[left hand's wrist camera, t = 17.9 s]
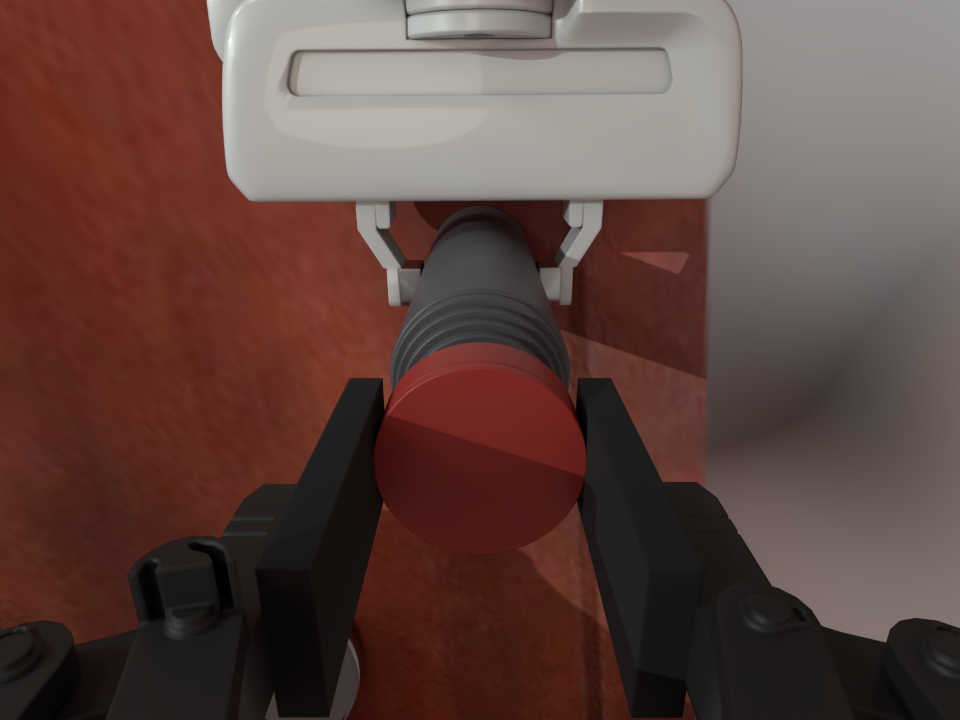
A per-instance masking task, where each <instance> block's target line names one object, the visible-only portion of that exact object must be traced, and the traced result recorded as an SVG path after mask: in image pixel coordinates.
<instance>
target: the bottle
mask: <svg viewBox="0 0 960 720" xmlns="http://www.w3.org/2000/svg"><path fill="white" fill-rule="evenodd" d="M472 342H489V343H497V344H502V345H506V346H510V347H514V348H516V349H519V350H522V351H524V352H526V353H528V354H530V355H532V356H534V357H535V358H537V359H538V360H540V361H541V362H543V363H544V364H545V365H547V366H548V367H549V368H550V369H551V370H552V371H553V372H554V373H555V374H556V375H557V376H558V378H559V379H560V380H561V382H562V383H563V384H564V386H565V388H566V389H567V391H568V388H569V381H570V364H569V357H568V352H567V348H566V345H565V343H564V340H563V337H562V335H561V332H560V329H559V327H558V324H557V321H556V319H555V316H554V313H553V311H552V308H551V305H550V303H549V300H548V297H547V295H546V292H545V289H544V287H543V284H542V281H541V279H540V276H539V273H538V271H537V268H536V265H535V263H534V260H533V257H532V255H531V252H530V249H529V246H528V244H527V241H526V238H525V236H524V233H523V231H522V230H521V228H520V226H519V225H518V224H517V222H516V221H515V220H514V219H513V218H512V217H511V216H509V215H508V214H507V213H505V212H503V211H501V210H499V209H497V208H494V207H490V206H470V207H467V208H463V209H461V210H459V211H457V212H455V213H454V214H452V215H451V216H450V217H448V218H447V219H446V220H445V221H444V222H443V224H442V225H441V227H440V228H439V230H438V232H437V234H436V236H435V239H434V242H433V244H432V247H431V250H430V252H429V255H428V258H427V260H426V263H425V266H424V269H423V271H422V274H421V277H420V279H419V282H418V285H417V287H416V290H415V293H414V295H413V298H412V301H411V303H410V306H409V309H408V311H407V314H406V317H405V320H404V322H403V325H402V328H401V330H400V333H399V336H398V338H397V341H396V344H395V346H394V349H393V353H392V358H391V367H390V376H391V385H392V392H393V390H394V388H395V387H396V385H397V383H398V382H399V381H400V379H401V378H402V377H403V376H404V374H405V373H406V372H407V371H409V370H410V369H411V368H412V367H413V366H414V365H415V364H417V363H418V362H419V361H421V360H422V359H423V358H425V357H427V356H429V355H430V354H432V353H434V352H436V351H439V350H441V349H444V348H446V347H450V346H454V345H458V344H464V343H472Z"/></svg>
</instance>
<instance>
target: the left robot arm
mask: <svg viewBox="0 0 960 720" xmlns="http://www.w3.org/2000/svg"><path fill="white" fill-rule="evenodd" d="M576 414H577V417H578V420H579V423H580V426H581V430H582V432H583V436H584V440H585V444H586V468H585V481H584V485H583V488H582V490H581V493H580V496H579V497H578V499H577V503H578V507H579V511H580V515H581V519H582V523H583V527H584V531H585V535H586V539H587V543H588V547H589V551H590V555H591V559H592V563H593V567H594V571H595V575H596V579H597V583H598V587H599V591H600V595H601V599H602V603H603V607H604V611H605V615H606V619H607V623H608V627H609V631H610V635H611V639H612V643H613V647H614V651H615V655H616V659H617V663H618V667H619V671H620V675H621V679H622V683H623V687H624V691H625V695H626V699H627V703H628V707H629V711H630V714H631V718H682V715H683V708H684V702H685V696H686V690H687V692H688V695H689V698H690V701H691V703H692V706H693V709H694V712H695V715H696V717H697V719H696V720H960V628H957V627H954V626H951V625H948V624H946V623H943V622H940V621H936V620H928V619H920V618H913V619H908V620H902V621H899V622H898V623H897V624H896V625H894V626H893V627H892V628H891V629H890V632H889V635H888V638H887V642H886V643H885V642H881V641H877V640H873V639H868V638H864V637H860V636H855V635H851V634H847V633H843V632H839V631H836V630H833V629H829V628H826V627H823V626H821V624H820V623H819V621H818V619H817V618H816V616H815V615H814V613H813V611H812V610H811V609H810V608H809V607H807V606H806V605H805V604H804V603H803V602H802V601H800V600H799V599H798V598H797V597H795V596H793V595H791V594H789V593H787V592H785V591H783V590H781V589H779V588H776V587H773V586H772V585H771V584H770V582H769V581H768V579H767V577H766V576H765V574H764V573H763V571H762V569H761V568H760V566H759V565H758V563H757V561H756V560H755V558H754V556H753V555H752V553H751V552H750V550H749V548H748V547H747V545H746V544H745V542H744V540H743V539H742V537H741V535H739V534H738V533H737V529H736V527H735V526H734V524H733V523H732V521H731V520H730V519H728V515H727V513H726V511H725V510H724V508H723V507H722V505H721V503H720V502H719V500H718V498H717V497H716V496H714V495H713V494H712V493H710V492H709V491H708V490H706V489H705V488H704V487H702V486H701V485H700V484H698V483H697V482H662V480H661V478H660V476H659V474H658V472H657V470H656V468H655V466H654V464H653V462H652V460H651V458H650V456H649V454H648V452H647V450H646V448H645V446H644V444H643V442H642V440H641V438H640V436H639V434H638V432H637V430H636V428H635V426H634V424H633V422H632V420H631V418H630V416H629V414H628V412H627V410H626V408H625V406H624V404H623V402H622V400H621V398H620V396H619V394H618V392H617V390H616V388H615V386H614V384H613V382H612V380H611V378H578V386H577V402H576ZM383 415H384V395H383V379H382V378H350V379H349V381H348V383H347V385H346V387H345V389H344V391H343V393H342V395H341V397H340V399H339V401H338V403H337V405H336V407H335V409H334V411H333V413H332V415H331V417H330V419H329V421H328V423H327V425H326V427H325V429H324V431H323V433H322V435H321V437H320V439H319V441H318V443H317V445H316V447H315V449H314V451H313V453H312V455H311V457H310V459H309V461H308V463H307V465H306V467H305V469H304V471H303V473H302V475H301V477H300V479H299V481H298V483H297V484H264V485H262V486H261V487H260V488H258V489H257V490H256V491H254V492H253V493H252V494H250V495H249V496H248V497H246V498H245V499H244V500H243V502H242V503H241V505H240V506H239V508H238V510H237V511H236V513H235V515H234V516H233V520H232V521H230V523H229V524H228V526H227V528H226V529H225V531H224V532H223V537H220V538H217V537H213V536H191V537H186V538H182V539H178V540H174V541H171V542H168V543H166V544H164V545H162V546H159V547H157V548H155V549H153V550H151V551H150V552H149V553H147V554H146V555H145V556H143V557H142V558H141V559H139V560H138V561H137V562H136V563H135V564H134V566H133V567H132V569H131V570H130V571H129V573H128V574H127V576H128V580H129V584H130V588H131V592H132V596H133V600H134V604H135V608H136V612H137V616H138V620H139V624H140V625H139V628H138V629H136V630H133V631H130V632H126V633H123V634H120V635H116V636H111V637H107V638H103V639H98V640H94V641H90V642H86V643H81V644H77V645H75V643H74V640H73V636H72V633H71V631H70V630H69V629H67V628H66V627H65V626H64V625H63V624H62V623H57V622H51V621H46V620H45V621H37V622H29V623H23V624H20V625H17V626H14V627H11V628H9V629H6V630H3V629H2V628H0V720H346V718H347V717H348V715H349V713H350V712H351V710H352V708H353V706H354V704H355V701H356V698H357V694H358V690H359V685H360V680H361V676H362V671H363V650H362V645H361V641H360V638H359V635H358V633H357V631H356V629H355V627H354V625H353V620H354V616H355V612H356V608H357V604H358V600H359V597H360V593H361V589H362V585H363V581H364V577H365V573H366V569H367V565H368V561H369V557H370V553H371V549H372V545H373V541H374V537H375V533H376V529H377V525H378V521H379V517H380V513H381V509H382V505H383V501H384V500H383V499H382V497H381V495H380V492H379V489H378V487H377V484H376V475H375V461H374V446H375V441H376V437H377V433H378V430H379V427H380V424H381V421H382V418H383ZM0 621H1V619H0Z"/></svg>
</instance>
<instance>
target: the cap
mask: <svg viewBox="0 0 960 720" xmlns="http://www.w3.org/2000/svg"><path fill="white" fill-rule="evenodd" d="M374 461H375V475H376V484H377V487H378V489H379V492H380V495H381V497H382V499H383V500H384V502H385V504H386V506H387V507H388V509H389V510H390V511H391V513H392V514H393V515H394V517H395V518H396V519H397V520H398V521H399V522H400V523H401V524H402V525H403V526H404V527H405V528H407V529H408V530H409V531H410V532H412V533H413V534H414V535H416V536H418V537H419V538H421V539H423V540H424V541H426V542H429V543H431V544H433V545H435V546H438V547H441V548H444V549H447V550H450V551H455V552H460V553H468V554H493V553H501V552H505V551H510V550H514V549H517V548H520V547H523V546H525V545H528V544H530V543H532V542H534V541H536V540H538V539H539V538H541V537H543V536H544V535H546V534H547V533H549V532H550V531H551V530H552V529H554V528H555V527H556V526H557V525H558V524H559V523H560V522H561V521H562V520H563V519H564V518H565V517H566V516H567V515H568V513H569V512H570V511H571V509H572V508H573V507H574V505H575V503H576V501H577V499H578V497H579V496H580V493H581V490H582V488H583V485H584V481H585V468H586V444H585V440H584V436H583V432H582V430H581V426H580V423H579V420H578V417H577V414H576V411H575V408H574V405H573V402H572V400H571V397H570V395H569V393H568V391H567V389H566V388H565V386H564V384H563V383H562V382H561V380H560V379H559V378H558V376H557V375H556V374H555V373H554V372H553V371H552V370H551V369H550V368H549V367H548V366H547V365H545V364H544V363H543V362H541V361H540V360H538V359H537V358H535V357H534V356H532V355H530V354H528V353H526V352H524V351H522V350H519V349H516V348H514V347H510V346H506V345H502V344H497V343H489V342H472V343H464V344H458V345H454V346H450V347H446V348H444V349H441V350H439V351H436V352H434V353H432V354H430V355H429V356H427V357H425V358H423V359H422V360H421V361H419V362H418V363H417V364H415V365H414V366H413V367H412V368H411V369H410V370H409V371H407V372H406V373H405V374H404V376H403V377H402V378H401V379H400V381H399V382H398V383H397V385H396V387H395V388H394V390H393V392H392V394H391V396H390V398H389V401H388V403H387V406H386V409H385V412H384V415H383V418H382V421H381V424H380V427H379V430H378V433H377V437H376V441H375V446H374Z"/></svg>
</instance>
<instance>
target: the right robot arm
mask: <svg viewBox="0 0 960 720" xmlns="http://www.w3.org/2000/svg"><path fill="white" fill-rule="evenodd" d="M207 7H208V14H209V21H210V28H211V35H212V41H213V44H214V48H215V51H216V53H217V55H218V57H219V59H220V61H221V62H222V64H223V72H222V113H223V133H224V146H225V158H226V166H227V172H228V175H229V178H230V179H231V181H232V182H233V183H234V184H235V186H236V187H237V188H238V189H239V190H240V191H241V192H242V193H243V194H244V195H245V196H246V197H247V198H248V199H249V200H250V201H252V202H356V214H357V227H358V231H359V232H360V234H361V235H362V237H363V238H364V240H365V241H366V243H367V244H368V246H369V247H370V249H371V250H372V252H373V253H374V255H375V256H376V257H377V259H378V260H379V262H380V263H381V265H382V266H383V268H386V269H387V280H388V296H389V304H390V306H399V307H401V306H410V303H411V301H412V298H413V295H414V293H415V290H416V287H417V285H418V282H419V279H420V277H421V274H422V271H423V269H424V260H406V258H405V256H404V255H403V253H402V251H401V250H400V248H399V246H398V245H397V243H396V242H395V240H394V238H393V237H392V235H391V233H390V232H389V230H388V228H389V227H390V226H391V225H392V223H393V222H394V221H395V220H396V219H397V216H396V201H517V200H563V218H564V219H565V221H566V222H567V223H568V224H569V225H570V226H571V227H572V228H571V229H570V231H569V233H568V234H567V236H566V238H565V239H564V241H563V243H562V244H561V246H560V248H559V250H558V251H557V253H556V255H555V256H554V259H536V268H537V271H538V273H539V276H540V279H541V281H542V284H543V287H544V289H545V292H546V295H547V297H548V300H549V303H550V305H570V304H571V299H572V279H573V267H576V266H577V265H578V263H579V262H580V260H581V259H582V257H583V256H584V254H585V253H586V251H587V249H588V248H589V246H590V245H591V243H592V242H593V240H594V239H595V237H596V236H597V234H598V233H599V231H600V230H601V228H602V214H603V200H652V199H708V198H711V197H713V196H714V195H715V194H716V193H717V192H718V191H719V189H720V188H721V187H722V186H723V185H724V183H725V182H726V181H727V180H728V179H729V178H730V176H731V175H732V173H733V171H734V168H735V163H736V158H737V151H738V143H739V133H740V122H741V106H742V41H741V34H740V29H739V25H738V21H737V19H736V16H735V14H734V12H733V10H732V8H731V7H730V5H729V4H728V3H727V1H726V0H207Z"/></svg>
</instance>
